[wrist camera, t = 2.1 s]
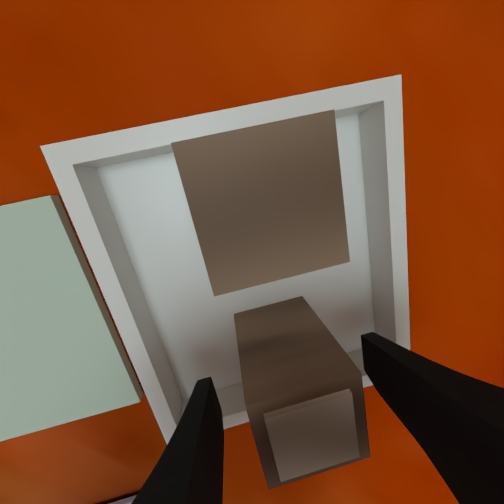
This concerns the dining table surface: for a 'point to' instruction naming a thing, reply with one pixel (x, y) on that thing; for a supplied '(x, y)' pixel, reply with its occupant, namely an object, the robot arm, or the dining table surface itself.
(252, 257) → the plain block
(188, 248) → the parts tray
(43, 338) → the sage mat
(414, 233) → the dining table surface
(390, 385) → the robot arm
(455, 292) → the dining table surface
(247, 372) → the labelled block
